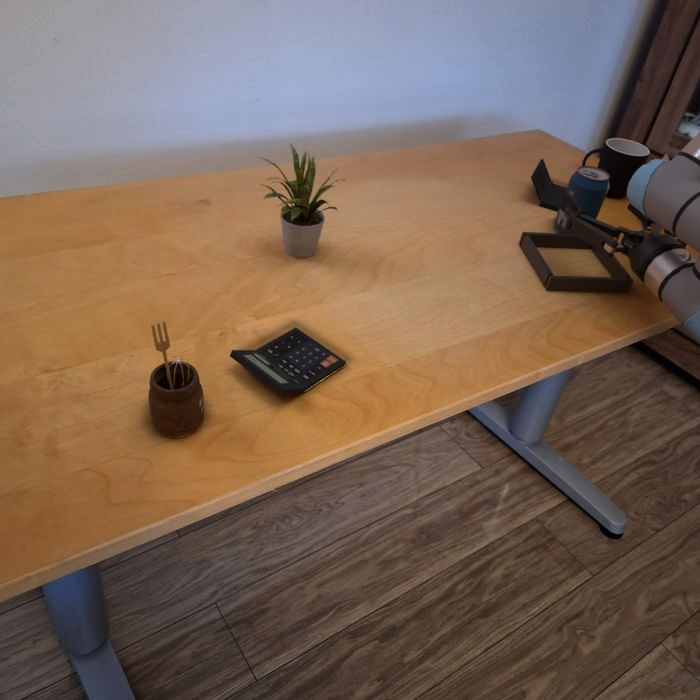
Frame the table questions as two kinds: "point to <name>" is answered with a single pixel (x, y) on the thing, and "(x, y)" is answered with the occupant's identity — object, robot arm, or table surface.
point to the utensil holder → (174, 393)
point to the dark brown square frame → (573, 283)
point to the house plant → (301, 208)
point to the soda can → (585, 193)
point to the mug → (620, 163)
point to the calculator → (289, 362)
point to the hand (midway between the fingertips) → (598, 200)
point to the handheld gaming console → (547, 188)
